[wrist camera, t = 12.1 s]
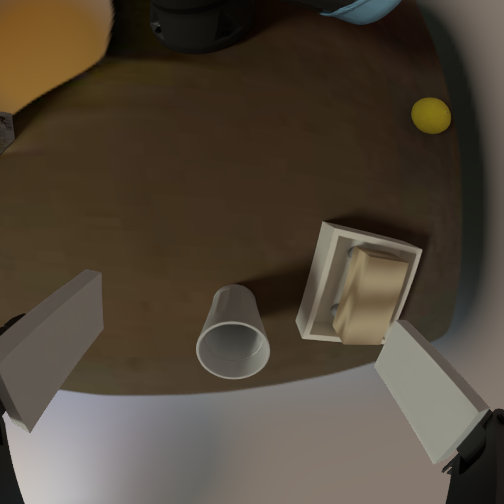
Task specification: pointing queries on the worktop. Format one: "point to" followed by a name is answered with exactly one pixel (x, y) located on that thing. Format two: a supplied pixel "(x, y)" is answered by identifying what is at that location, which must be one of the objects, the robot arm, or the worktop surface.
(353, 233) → the white open box
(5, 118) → the coffee box
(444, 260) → the worktop surface
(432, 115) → the lemon
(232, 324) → the cup
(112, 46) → the worktop surface
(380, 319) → the beige rectangular block
